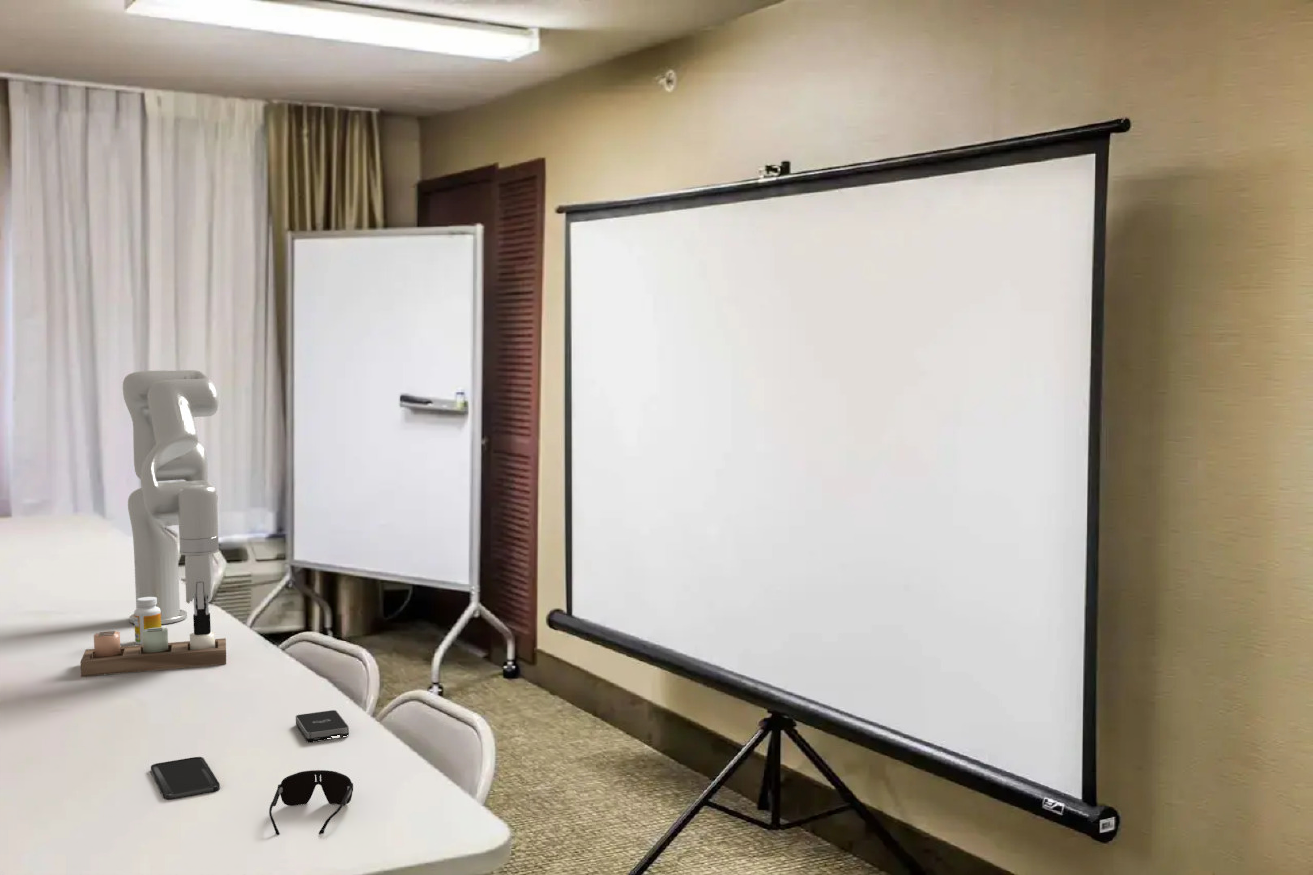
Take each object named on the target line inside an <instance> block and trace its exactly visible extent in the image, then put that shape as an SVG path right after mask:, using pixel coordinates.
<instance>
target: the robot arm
mask: <svg viewBox="0 0 1313 875" xmlns="http://www.w3.org/2000/svg"><path fill="white" fill-rule="evenodd" d="M122 395H123V400H124V403H125V405H126V407H127V410H128V413H129V415H130V418H131V422H132V429H133V430H132V437H133V441H132V443H133V464H134V465H133V466H134V472H135V474H136V477H137V479H139V480H140V485H141V487H140V488H137V489H135V490H133V491H132V493H130V495H129V497H128V498H127V510H128V515H129V520H130V524H131V525H130V526H131V531H132V541H133V542H132V543H133V556H134V557H133V559H134V560H133V561H134V582H135V585H134V586H135V588H134V589H135V606H136V607H135V610H136V609H137V608H139V606H137V599H138V598H142V597H156V598H157V604H156V607H159V608H160V610H161V625H166V624H173V623H177V622H181V621H183V620H185V619H187V617H188V612H187V611H186V610H184V609H181V606H180V601H181V600H180V574H179V554H180V555H182V556H185V557H184V560H185V561H184V570H185V571H184V574H185V577H184V578H185V602H186V603H187V604H191V603H190V602H193V612H194V613H193V616H192V617H193V619H192V620H193V633H194V634H195V635H201V634H210V632H211V631H212V630H211V613H210V612H209V611H210V609H209V603H210V602H211V601H212V598H213V591H214V590H213V589H214V587H213V586H214V556H213V555H214V554H217V553H218V552H220V549H219V548H220V546H219V520H218V519H219V517H218V491H217V488H216V487H214V485H213V483H212V482H210V481H209V480H208V474H209V473H208V457H207V452H206V449H205V446H204V444H203V443H202V441H199V437H198V436H199V435H198V433H197V432H198V431H197V426H196V422H195V419H194V418H199V417H212V416H214V415H216V413H217V411H218V408H219V404H220V403H219V394H218V390H217V388H216V386H215V384H214V382H213V381H212V380H211V379H210V377H208V376H207V375H206V374H204V373H203V372H202V371H200V370H193V369H192V370H191V369H190V370H187V369H186V370H184V369H183V370H182V369H181V370H143V371H141V370H140V371H135V372H131V373H129V374H127V375H126V376H125V377H124V379H123V381H122ZM172 526H178V536H179V539H178V540H179V548H178V544H177V541H176V540H175V538H174V537H173V536H172V535H171V534H170V533H169V532H168V531H167V530H166V529H165V528H166V527H172ZM178 549H179V552H178ZM129 623H130V624H134V625H135V622H134V613H133V614H131V615H130V616H129Z"/></svg>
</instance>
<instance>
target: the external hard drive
mask: <svg viewBox="0 0 1313 875" xmlns="http://www.w3.org/2000/svg"><path fill="white" fill-rule="evenodd" d="M295 725H296V727H297V726H298V727H297V728H298V729H299V732H301V735H302V736H303V737H304V739H305V740H306V742H307V741H308V742H307V743H314V742H313V741H317V742H319V741H318V740H324V739H327V738H332V737H331V736H337V735H340V737H343V736H347V735H348V736H349V734H350V729H349V725H348V724H347V722H346V720H344V718H343V717H342V716H341V715H340V713H339V712H338V711H337V710H335V709H333V710H332V709H331V710H324V711H316V712H309V713H303V714H302V713H301V714H296V715H295ZM324 741H325V740H324Z"/></svg>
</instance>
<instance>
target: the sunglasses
mask: <svg viewBox="0 0 1313 875" xmlns="http://www.w3.org/2000/svg"><path fill="white" fill-rule="evenodd" d="M317 785H319V786H320V787H321V789H322V792H323V794H324V797H325V799H326V801H327V802H328V804H330V805H339V806H338V808H337V809H336V810H335V811H334V812H333V813H332V814H331V815H330V816H329V817H328V818H327V819H325V822H324V824H323V825H322V827H321V828H320V830H319V831H318V834H319V835H321V834H324V833H325V830H326V827H327V826H328V824H329V822H330V821H331V820H332V818H334V817H335V816H336V815H337V814H338V813H339V812H340V811H341V809H342V807H343V806H346V805H348V804H349V803H350V802H351V800H352V796H353V792H354V782H352V781H351V779H350V777H349V776H347V775H346V774H343V773H341V772H339V771H334V770H325V769H322V770H321V769H317V770H316V769H314V770H305V771H299V772H296V773H292V774H290V775H289V776H286V777H284V778H283V779H282V780H281V782H280V784H277V789H276V791H275V794H274V796H273V799H272V801H271V802H270V804H269V811H268V813H269V814H268V815H269V818H270V821H271V823H272V826H273V829H274V831H275V832H274V833H275V835H277V836H279V835H280V834H281V833H280V831H279V829H278V827H277V824H276V822H275V820H274V817H273V815H272V814H273V813H272V810H273V807H276V805H277V803H278V801H279V798H281V801H282V803H283V804H284V805H286V806H291V807H294V806H295V807H296V806H299V805H301V804H302V805H303V804H304V805H307V804H308V803H309V802H310V800H311V798H312V796H313V794H314V791H315V789H316V787H317ZM302 805H301V806H302ZM304 805H303V806H304Z"/></svg>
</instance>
